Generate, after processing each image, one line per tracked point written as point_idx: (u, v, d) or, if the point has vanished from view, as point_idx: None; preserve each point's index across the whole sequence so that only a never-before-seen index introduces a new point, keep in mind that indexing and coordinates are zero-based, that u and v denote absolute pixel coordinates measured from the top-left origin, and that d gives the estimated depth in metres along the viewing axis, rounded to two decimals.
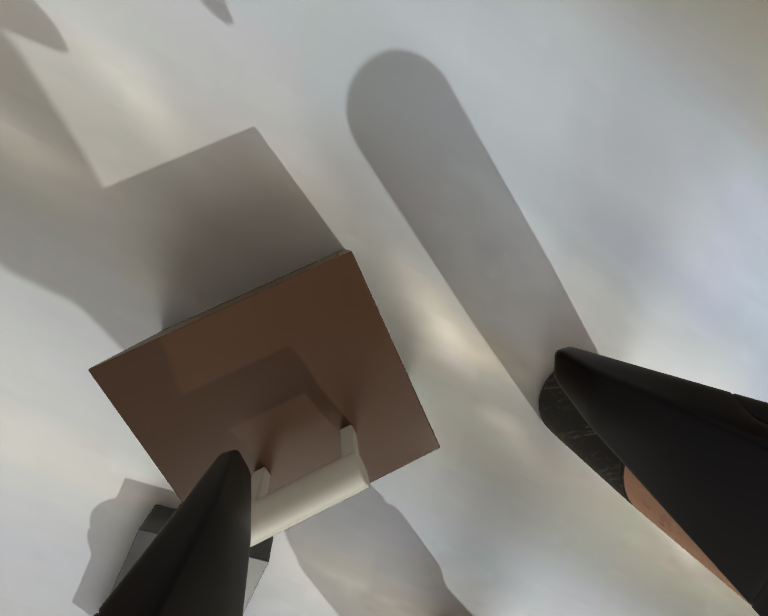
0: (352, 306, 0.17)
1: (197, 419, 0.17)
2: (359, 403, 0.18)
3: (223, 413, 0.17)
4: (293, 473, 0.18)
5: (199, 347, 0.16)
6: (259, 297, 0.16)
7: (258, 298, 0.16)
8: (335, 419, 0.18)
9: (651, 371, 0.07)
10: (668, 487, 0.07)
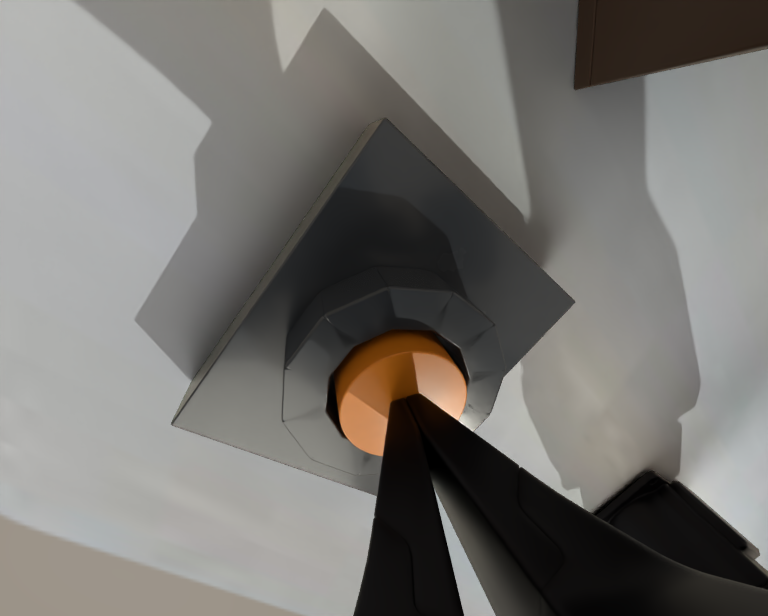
0: None
1: None
2: None
3: None
4: None
5: None
6: None
7: None
8: None
9: (467, 431, 0.07)
10: (474, 559, 0.07)
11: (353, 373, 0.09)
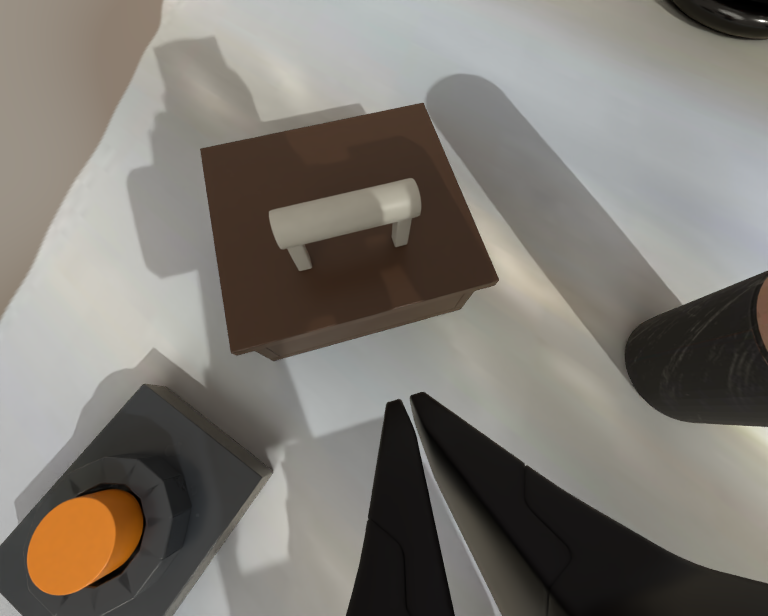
0: (419, 137, 0.20)
1: (264, 200, 0.18)
2: None
3: (288, 200, 0.18)
4: (335, 271, 0.17)
5: (287, 147, 0.19)
6: (345, 121, 0.20)
7: (344, 121, 0.20)
8: (388, 226, 0.18)
9: (471, 430, 0.07)
10: (479, 557, 0.07)
11: (49, 514, 0.15)
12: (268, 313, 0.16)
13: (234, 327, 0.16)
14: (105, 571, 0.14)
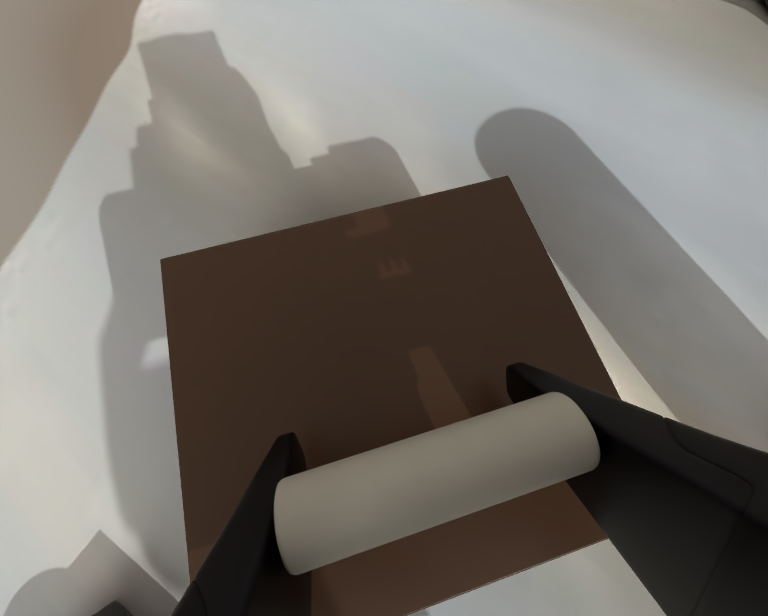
0: (508, 235, 0.12)
1: (264, 355, 0.11)
2: None
3: (304, 353, 0.11)
4: None
5: (301, 255, 0.12)
6: (390, 209, 0.13)
7: (389, 209, 0.13)
8: (474, 402, 0.10)
9: (592, 391, 0.07)
10: (605, 510, 0.07)
11: None
12: None
13: None
14: None
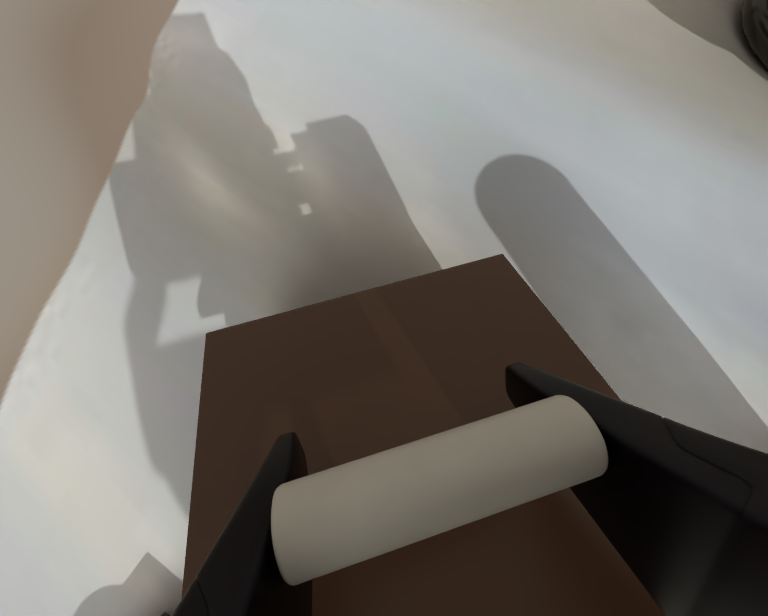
0: (508, 298, 0.14)
1: (283, 409, 0.11)
2: None
3: (320, 407, 0.11)
4: (404, 561, 0.08)
5: (323, 323, 0.14)
6: (401, 284, 0.15)
7: (399, 284, 0.15)
8: None
9: (591, 391, 0.07)
10: (604, 511, 0.07)
11: None
12: None
13: None
14: None
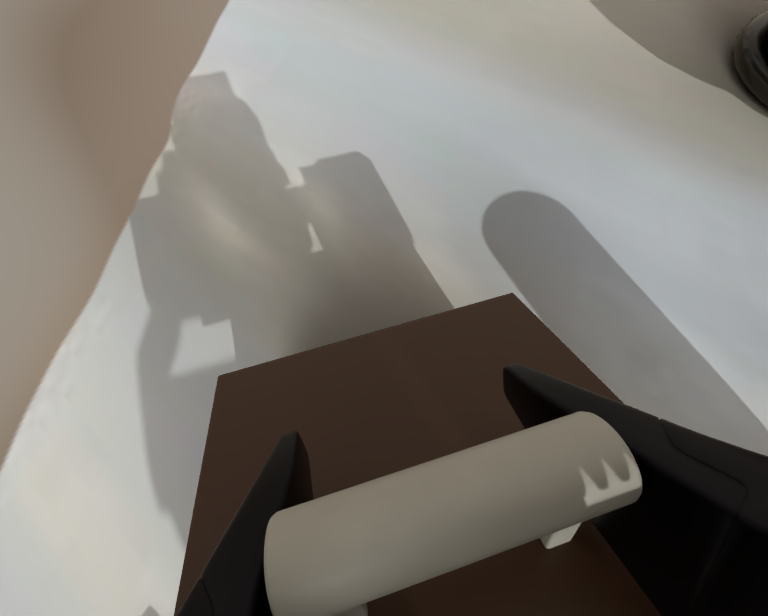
0: (522, 333, 0.13)
1: None
2: None
3: (328, 447, 0.11)
4: None
5: (334, 363, 0.14)
6: (411, 324, 0.15)
7: (410, 324, 0.15)
8: None
9: (588, 392, 0.07)
10: None
11: None
12: None
13: None
14: None
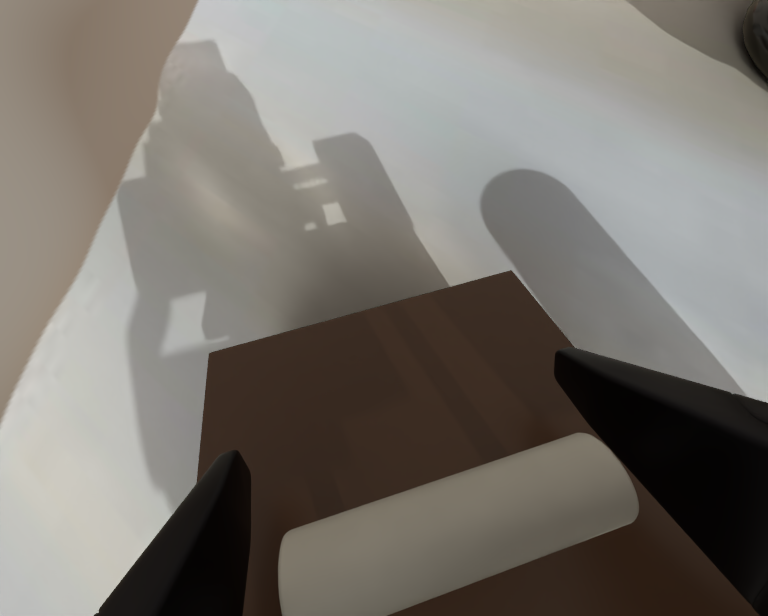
0: (519, 316, 0.13)
1: (288, 435, 0.11)
2: None
3: (326, 432, 0.11)
4: (416, 603, 0.08)
5: (329, 343, 0.13)
6: (408, 302, 0.14)
7: (407, 302, 0.14)
8: None
9: (651, 371, 0.07)
10: (668, 487, 0.07)
11: None
12: None
13: None
14: None
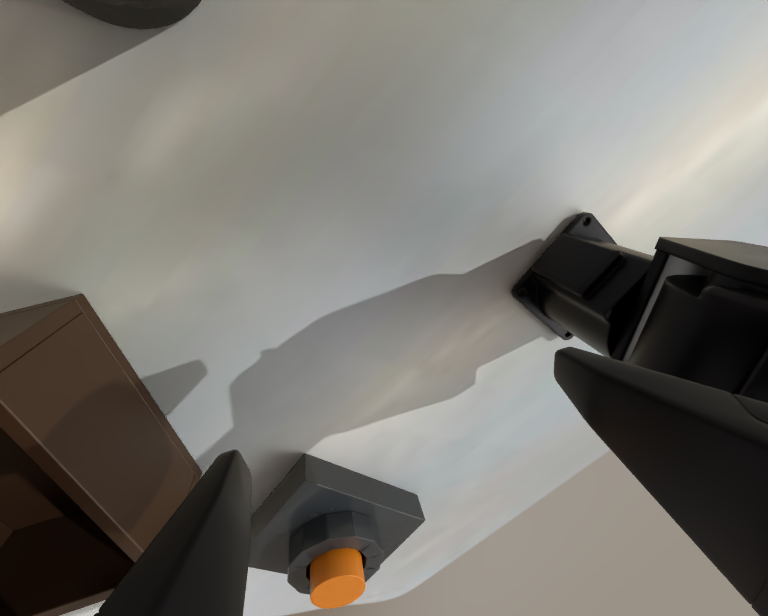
0: None
1: None
2: None
3: None
4: None
5: None
6: None
7: None
8: None
9: (651, 371, 0.07)
10: (668, 487, 0.07)
11: (321, 604, 0.22)
12: None
13: None
14: (355, 569, 0.22)
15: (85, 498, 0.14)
